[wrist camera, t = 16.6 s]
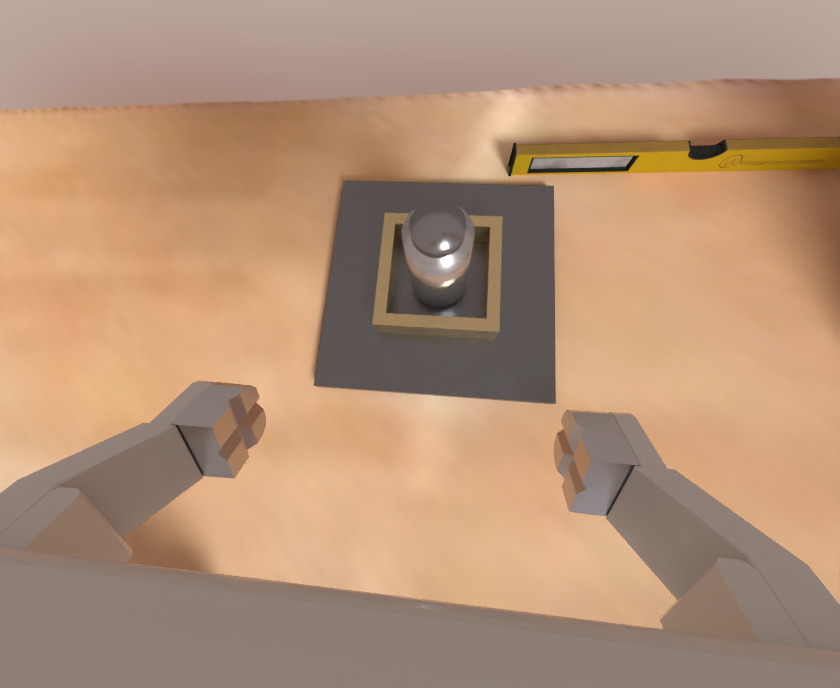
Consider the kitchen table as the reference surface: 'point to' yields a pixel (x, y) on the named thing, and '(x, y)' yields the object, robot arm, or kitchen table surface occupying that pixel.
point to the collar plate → (451, 325)
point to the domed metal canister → (438, 251)
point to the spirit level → (676, 156)
